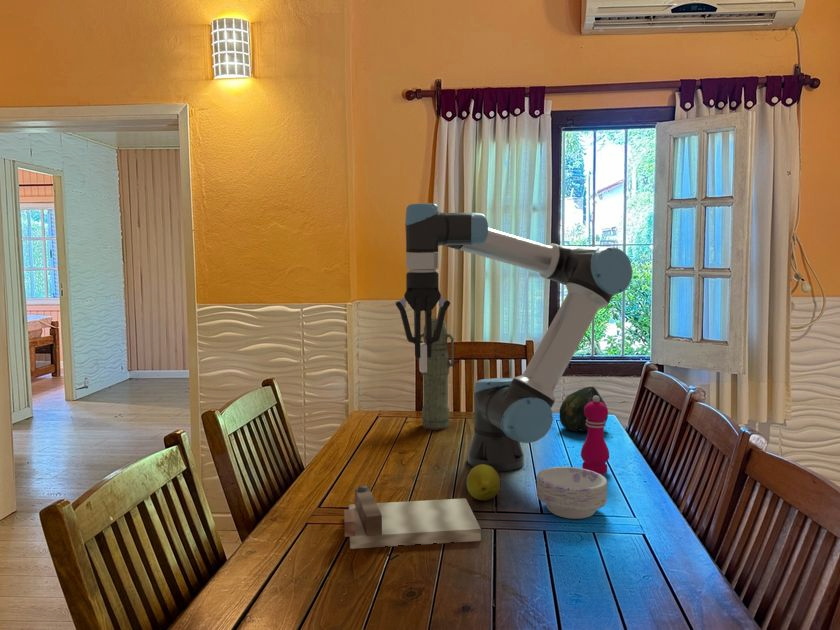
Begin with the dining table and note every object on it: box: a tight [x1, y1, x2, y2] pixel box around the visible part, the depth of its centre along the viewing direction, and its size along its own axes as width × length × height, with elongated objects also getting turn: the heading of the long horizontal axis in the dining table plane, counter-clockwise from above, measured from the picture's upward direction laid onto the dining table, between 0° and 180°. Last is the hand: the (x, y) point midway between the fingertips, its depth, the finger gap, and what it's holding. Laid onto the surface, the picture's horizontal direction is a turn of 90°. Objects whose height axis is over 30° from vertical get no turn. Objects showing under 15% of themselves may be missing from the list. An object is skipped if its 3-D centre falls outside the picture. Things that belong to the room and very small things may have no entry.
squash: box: [558, 386, 609, 432], centre depth 208 cm, size 14×15×15 cm
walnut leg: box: [354, 485, 382, 536], centre depth 135 cm, size 16×3×5 cm, turn 14°
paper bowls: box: [536, 466, 608, 520], centre depth 146 cm, size 15×15×8 cm
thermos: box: [417, 318, 455, 431], centre depth 213 cm, size 9×12×35 cm
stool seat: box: [343, 497, 482, 550], centre depth 138 cm, size 27×16×6 cm, turn 97°
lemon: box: [465, 464, 501, 501], centre depth 152 cm, size 11×8×8 cm
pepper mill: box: [580, 396, 610, 476], centre depth 171 cm, size 7×7×20 cm
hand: (423, 371), depth 155 cm, fingers closed
